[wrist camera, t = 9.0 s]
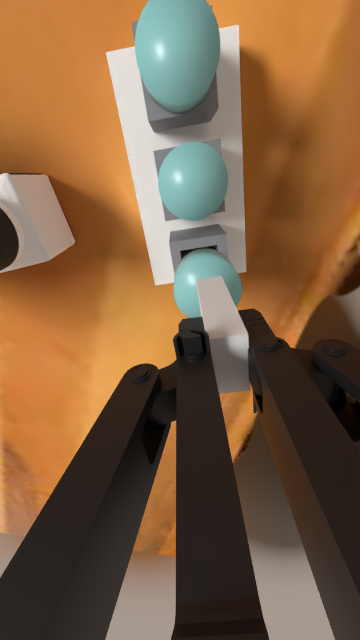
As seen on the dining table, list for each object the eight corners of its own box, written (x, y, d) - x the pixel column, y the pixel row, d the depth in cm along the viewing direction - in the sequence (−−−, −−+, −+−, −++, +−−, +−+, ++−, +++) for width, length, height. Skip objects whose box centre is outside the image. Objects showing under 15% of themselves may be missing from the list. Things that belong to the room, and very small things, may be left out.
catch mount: (157, 276, 32) (151, 305, 25) (114, 66, 22) (85, 17, 15) (240, 263, 31) (259, 289, 24) (231, 42, 22) (256, -21, 15)
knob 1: (154, 130, 22) (145, 110, 15) (142, 56, 20) (125, -4, 13) (209, 120, 22) (223, 95, 15) (203, 44, 20) (216, -24, 13)
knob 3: (178, 286, 26) (179, 325, 19) (170, 239, 23) (168, 264, 17) (225, 279, 25) (243, 317, 19) (222, 230, 23) (240, 253, 16)
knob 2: (168, 212, 25) (164, 225, 18) (158, 156, 23) (151, 148, 16) (215, 204, 25) (230, 214, 18) (211, 147, 23) (225, 135, 16)
